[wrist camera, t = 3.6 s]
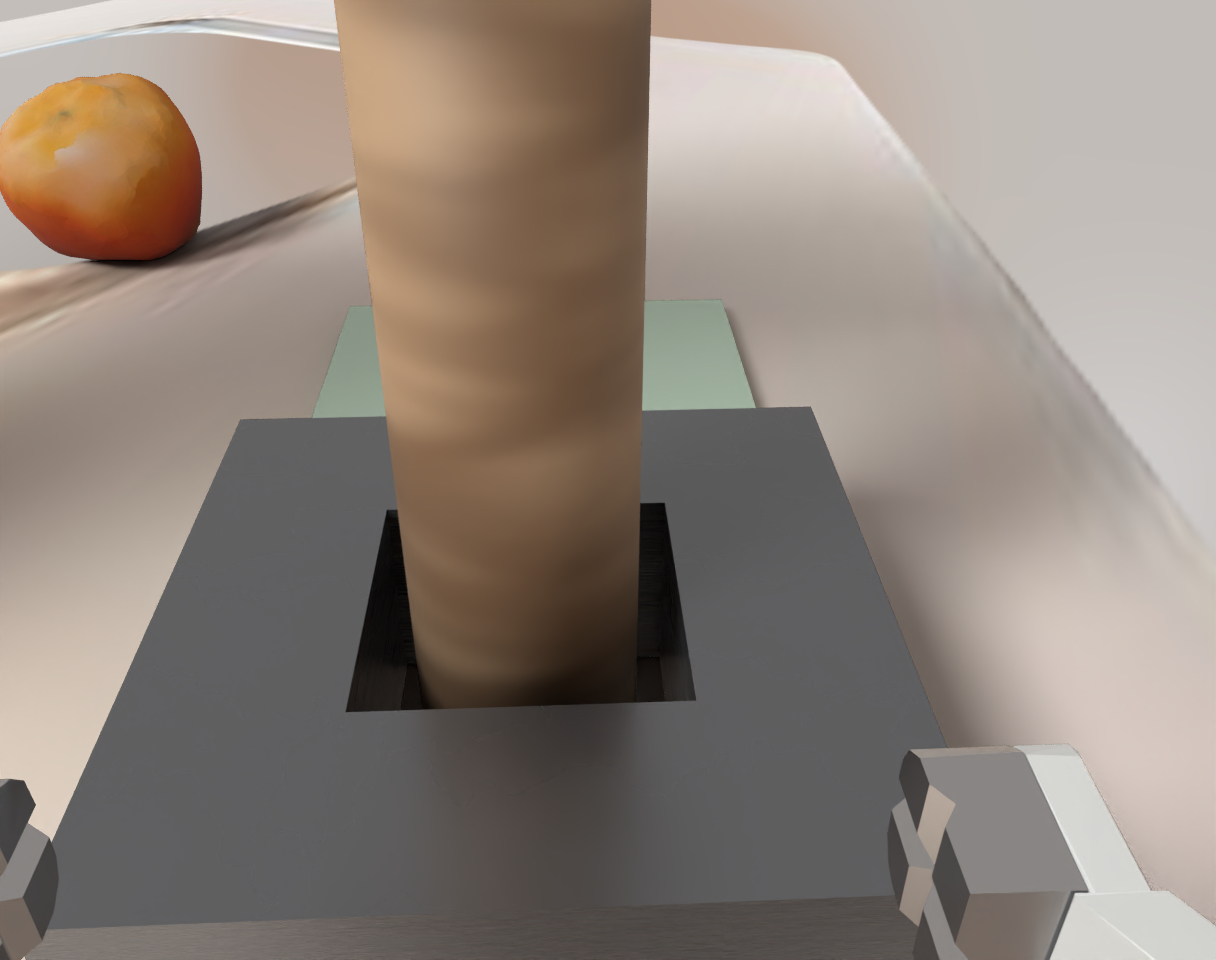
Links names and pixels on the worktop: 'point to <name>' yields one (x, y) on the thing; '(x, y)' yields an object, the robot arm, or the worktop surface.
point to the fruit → (103, 169)
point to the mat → (672, 362)
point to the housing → (502, 734)
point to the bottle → (509, 330)
